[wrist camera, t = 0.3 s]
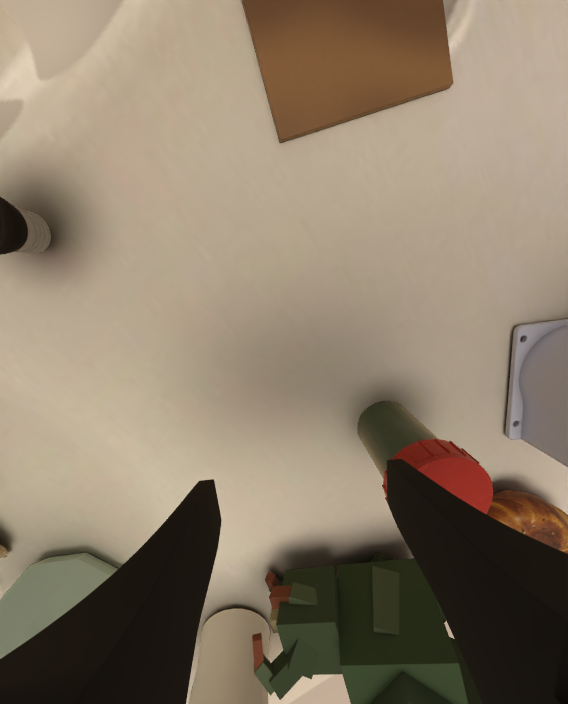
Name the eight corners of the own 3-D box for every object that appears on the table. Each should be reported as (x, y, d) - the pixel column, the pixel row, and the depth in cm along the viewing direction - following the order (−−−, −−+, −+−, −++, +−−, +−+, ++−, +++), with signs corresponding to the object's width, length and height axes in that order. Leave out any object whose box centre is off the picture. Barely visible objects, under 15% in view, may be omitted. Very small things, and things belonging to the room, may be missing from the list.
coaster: (449, 87, 17) (453, 83, 17) (279, 143, 17) (279, 140, 17) (418, -155, 14) (422, -167, 14) (219, -85, 15) (217, -95, 14)
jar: (411, 446, 23) (478, 523, 15) (358, 453, 23) (401, 534, 15) (410, 397, 22) (482, 454, 14) (355, 404, 22) (399, 466, 14)
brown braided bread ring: (452, 636, 23) (429, 589, 27) (580, 626, 23) (539, 581, 27) (464, 515, 20) (436, 482, 24) (608, 505, 21) (559, 473, 24)
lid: (469, 509, 17) (491, 534, 15) (382, 521, 17) (395, 548, 15) (472, 431, 16) (498, 449, 14) (379, 444, 16) (393, 464, 14)
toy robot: (306, 609, 30) (277, 518, 29) (500, 636, 24) (476, 520, 22) (267, 784, 20) (220, 652, 18) (599, 916, 13) (567, 729, 12)
